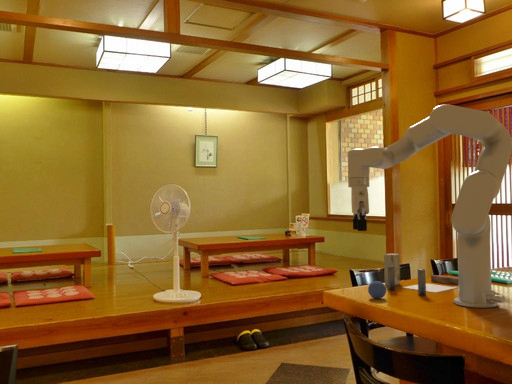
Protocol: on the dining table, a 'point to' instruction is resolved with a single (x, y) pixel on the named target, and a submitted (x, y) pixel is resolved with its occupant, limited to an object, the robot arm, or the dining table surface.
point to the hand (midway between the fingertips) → (359, 230)
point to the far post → (391, 278)
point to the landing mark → (432, 288)
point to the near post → (421, 282)
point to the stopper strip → (444, 279)
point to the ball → (377, 289)
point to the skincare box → (392, 261)
